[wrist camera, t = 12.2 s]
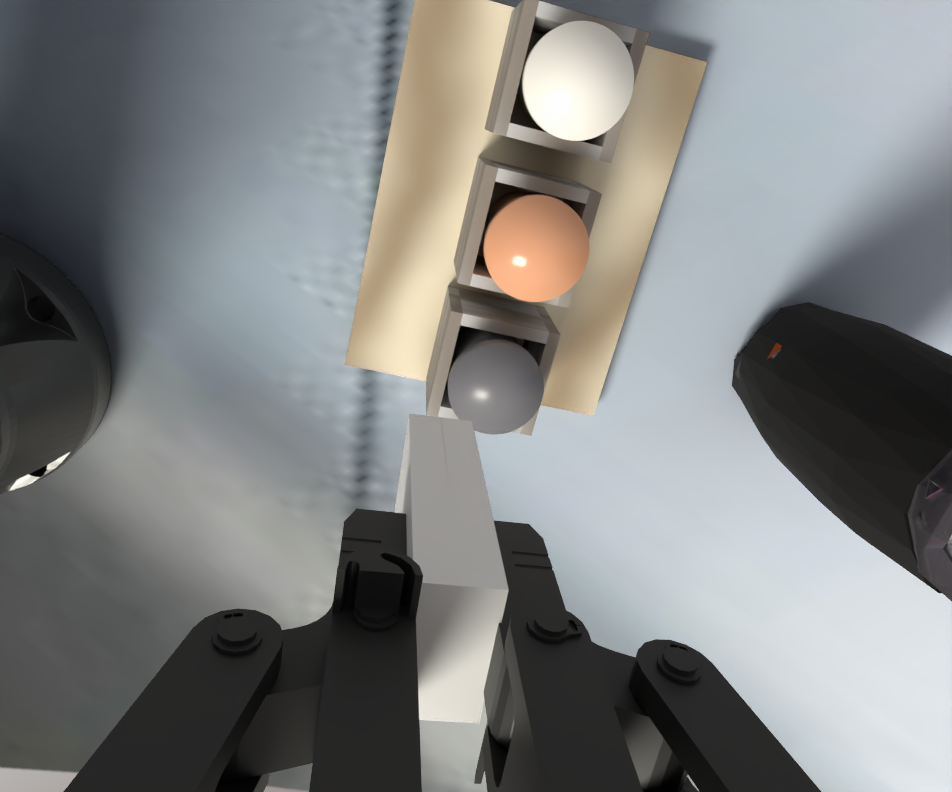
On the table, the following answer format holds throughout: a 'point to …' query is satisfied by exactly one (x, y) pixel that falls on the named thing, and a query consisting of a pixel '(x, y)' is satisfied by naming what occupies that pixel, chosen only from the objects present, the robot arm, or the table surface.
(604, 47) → the plunger cream
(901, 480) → the portable speaker
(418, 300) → the board
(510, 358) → the plunger charcoal
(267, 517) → the table surface
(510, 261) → the plunger terracotta
